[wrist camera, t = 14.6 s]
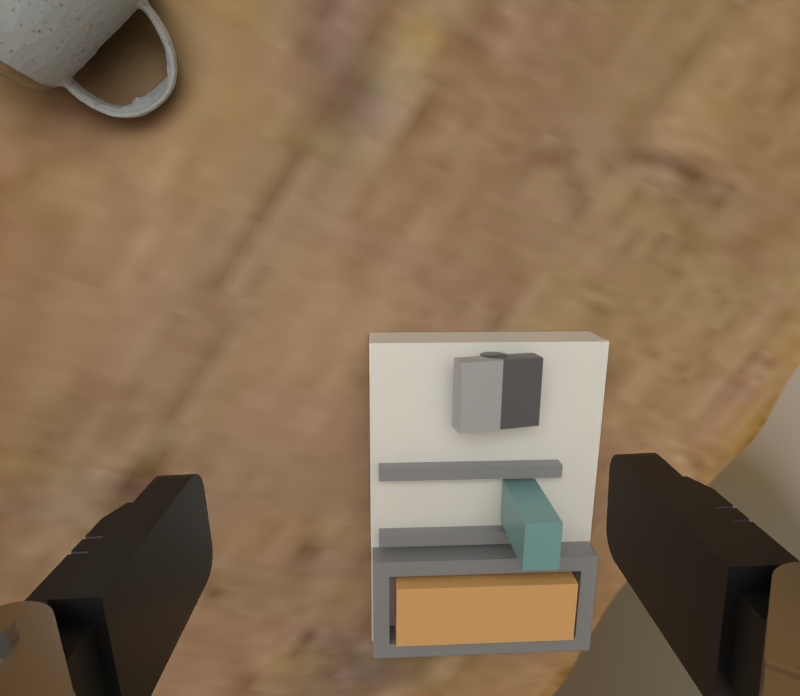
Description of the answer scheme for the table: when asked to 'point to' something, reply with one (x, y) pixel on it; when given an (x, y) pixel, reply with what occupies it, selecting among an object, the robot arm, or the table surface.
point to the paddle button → (485, 608)
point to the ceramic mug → (73, 46)
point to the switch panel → (477, 471)
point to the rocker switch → (496, 391)
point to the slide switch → (531, 525)
